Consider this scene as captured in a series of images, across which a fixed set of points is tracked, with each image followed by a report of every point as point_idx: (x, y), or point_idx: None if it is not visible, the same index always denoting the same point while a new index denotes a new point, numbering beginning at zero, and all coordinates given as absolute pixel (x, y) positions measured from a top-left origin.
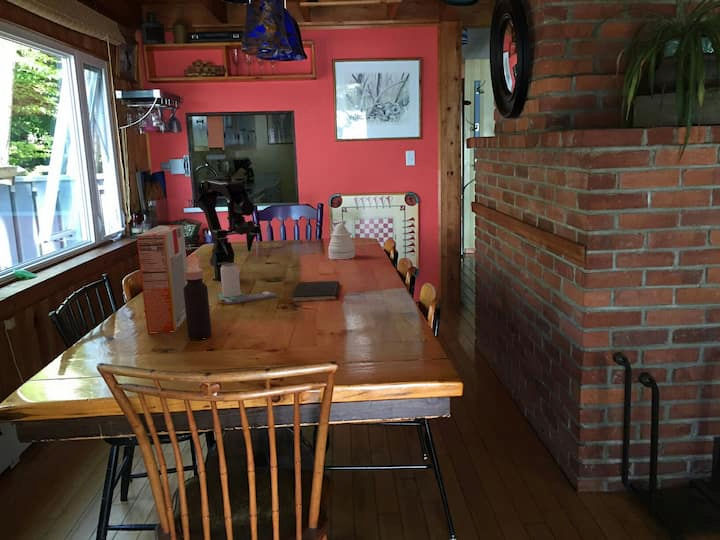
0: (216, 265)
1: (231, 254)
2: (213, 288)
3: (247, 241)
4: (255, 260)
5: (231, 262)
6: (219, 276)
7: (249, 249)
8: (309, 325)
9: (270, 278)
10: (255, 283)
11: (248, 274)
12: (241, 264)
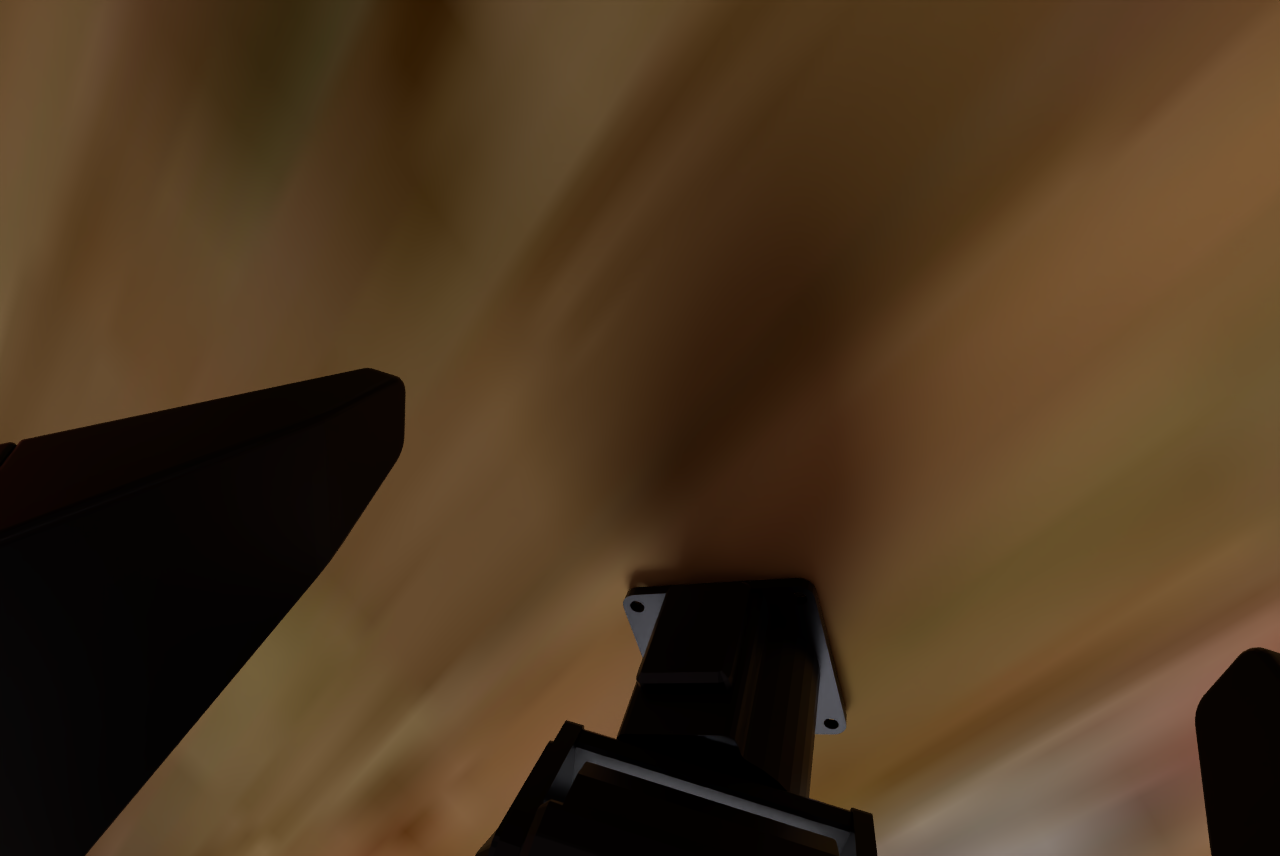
0: (861, 824)
1: (584, 844)
2: (1267, 414)
3: (107, 763)
4: (144, 821)
5: (581, 755)
6: (811, 682)
7: (352, 397)
8: None
9: (327, 154)
10: (654, 74)
11: (418, 565)
12: (280, 838)
